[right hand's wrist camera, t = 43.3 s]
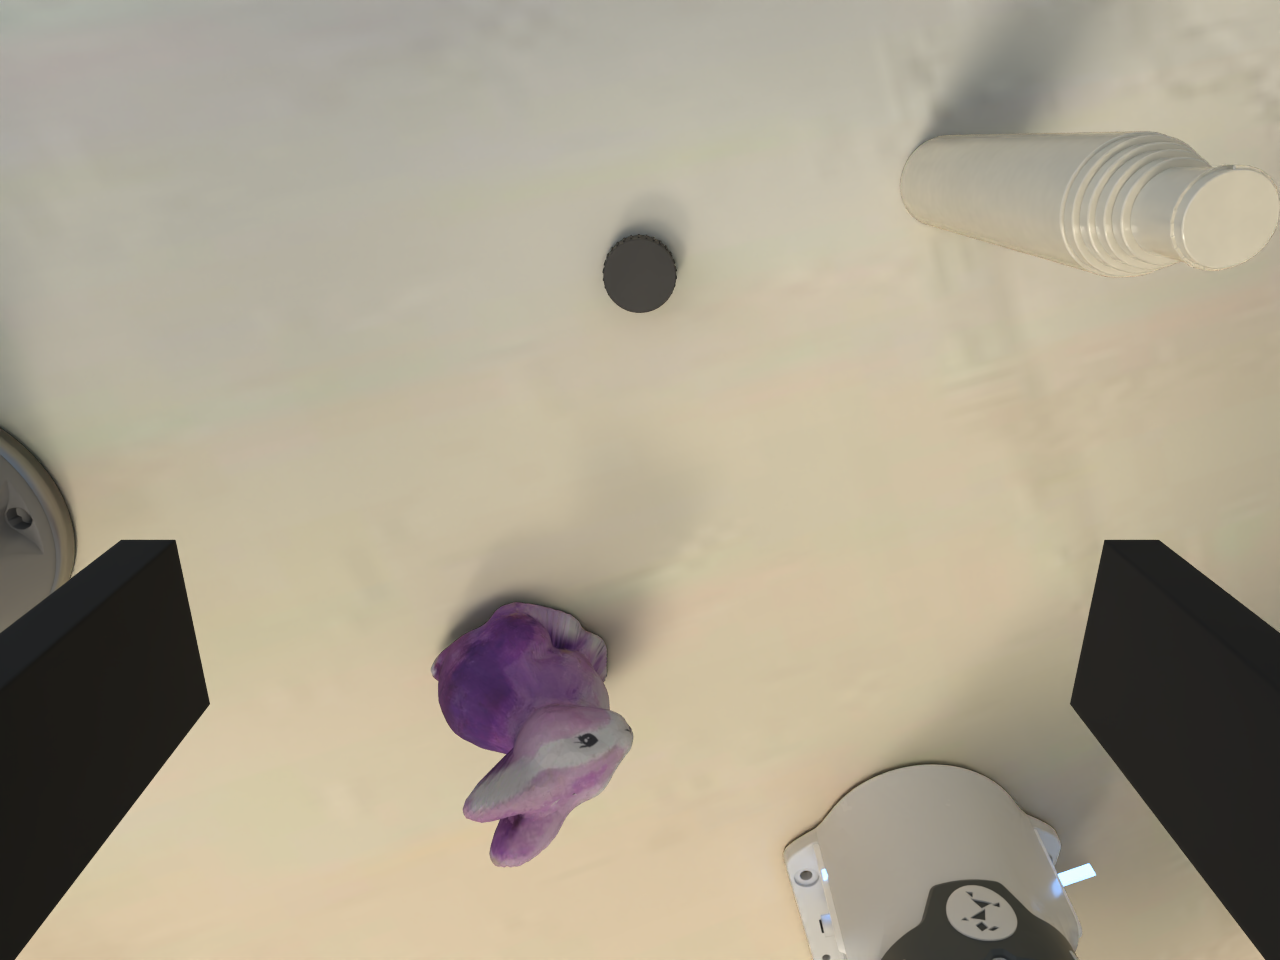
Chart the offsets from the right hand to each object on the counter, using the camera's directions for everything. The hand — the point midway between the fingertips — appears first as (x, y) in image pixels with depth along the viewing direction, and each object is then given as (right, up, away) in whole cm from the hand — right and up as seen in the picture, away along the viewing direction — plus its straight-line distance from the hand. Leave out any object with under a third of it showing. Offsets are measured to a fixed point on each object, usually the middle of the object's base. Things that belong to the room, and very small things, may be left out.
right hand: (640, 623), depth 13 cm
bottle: (+16, +18, +33) cm, 40 cm away
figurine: (-6, -9, +43) cm, 44 cm away
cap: (0, +13, +33) cm, 35 cm away
